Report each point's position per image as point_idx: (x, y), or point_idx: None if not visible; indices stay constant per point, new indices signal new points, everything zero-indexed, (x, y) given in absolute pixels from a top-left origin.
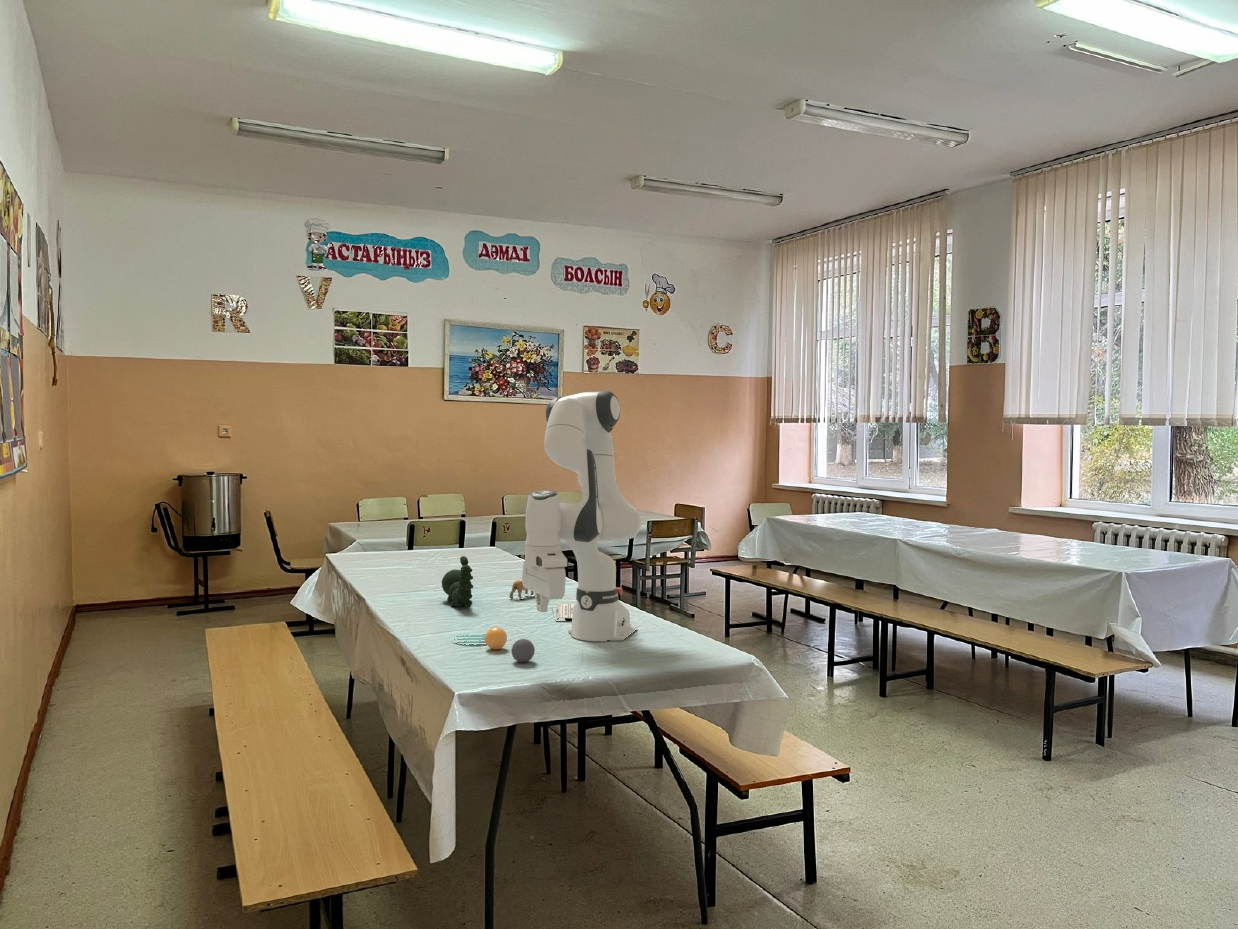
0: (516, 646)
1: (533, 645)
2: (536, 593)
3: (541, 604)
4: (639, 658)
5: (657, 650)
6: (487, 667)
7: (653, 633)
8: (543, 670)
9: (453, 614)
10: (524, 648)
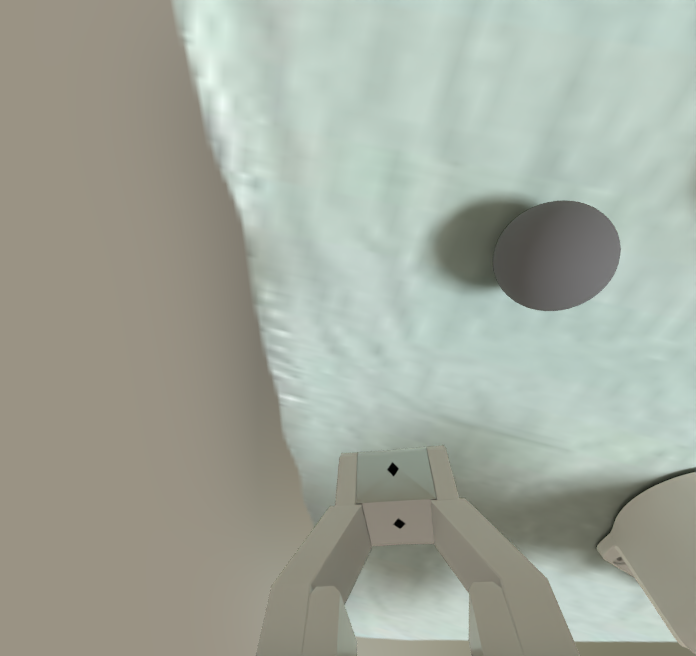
0: (546, 225)
1: (541, 310)
2: (488, 644)
3: (323, 519)
4: None
5: None
6: (525, 56)
7: (617, 604)
8: (394, 294)
9: None
10: (511, 260)
